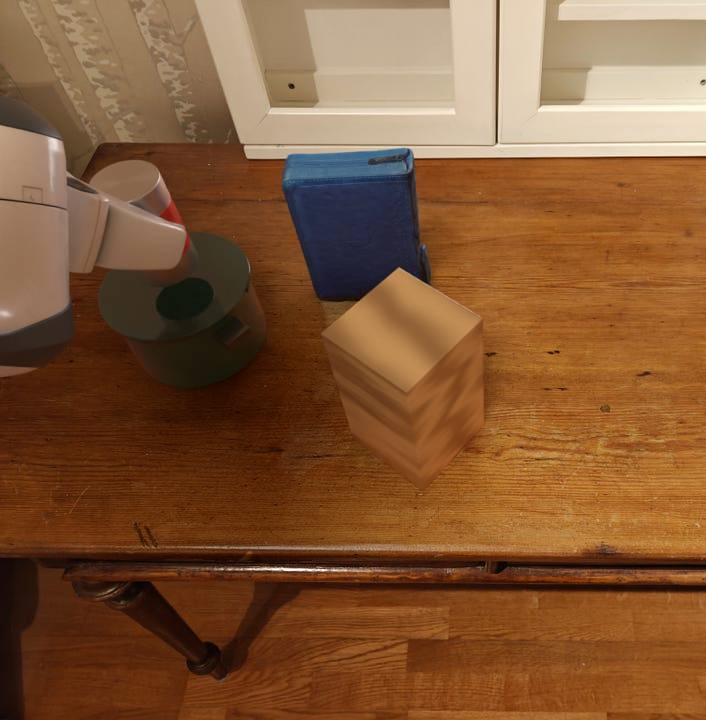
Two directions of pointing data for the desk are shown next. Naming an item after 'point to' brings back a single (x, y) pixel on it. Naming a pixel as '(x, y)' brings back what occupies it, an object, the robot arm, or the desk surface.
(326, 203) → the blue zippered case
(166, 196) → the can
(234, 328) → the pot
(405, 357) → the block
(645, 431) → the desk surface
